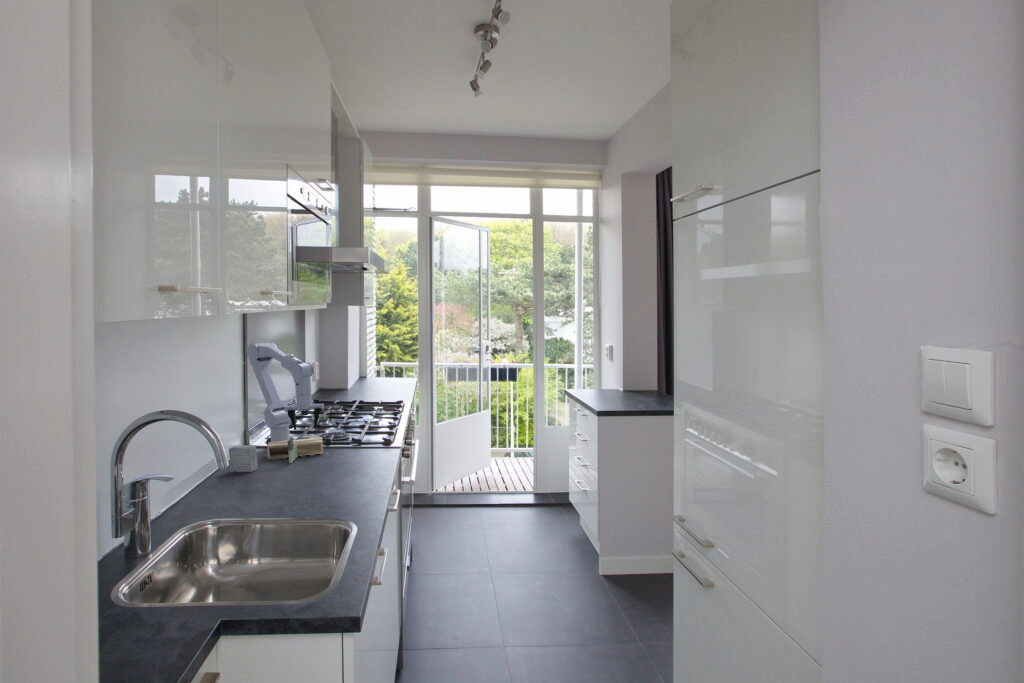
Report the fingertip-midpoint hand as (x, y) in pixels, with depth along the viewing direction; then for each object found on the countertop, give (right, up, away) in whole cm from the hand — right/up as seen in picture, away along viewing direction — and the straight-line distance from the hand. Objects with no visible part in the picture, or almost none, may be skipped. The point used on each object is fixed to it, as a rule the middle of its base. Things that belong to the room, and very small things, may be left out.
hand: (305, 428), depth 242 cm
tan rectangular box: (-3, -10, -3) cm, 10 cm away
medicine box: (-14, -12, -24) cm, 30 cm away
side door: (-1, -10, -12) cm, 15 cm away
